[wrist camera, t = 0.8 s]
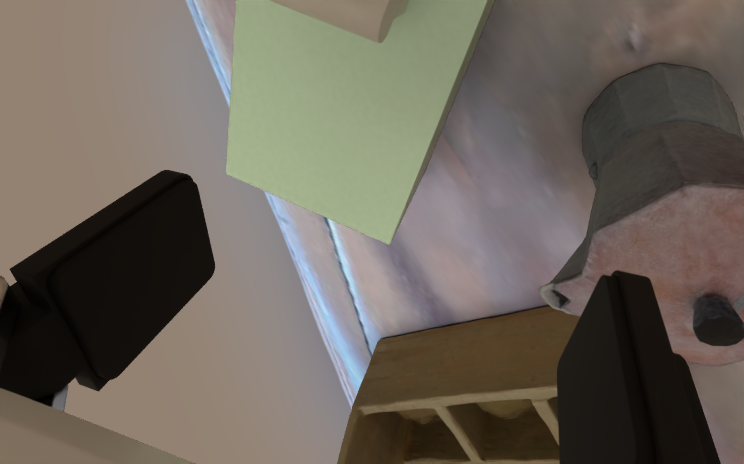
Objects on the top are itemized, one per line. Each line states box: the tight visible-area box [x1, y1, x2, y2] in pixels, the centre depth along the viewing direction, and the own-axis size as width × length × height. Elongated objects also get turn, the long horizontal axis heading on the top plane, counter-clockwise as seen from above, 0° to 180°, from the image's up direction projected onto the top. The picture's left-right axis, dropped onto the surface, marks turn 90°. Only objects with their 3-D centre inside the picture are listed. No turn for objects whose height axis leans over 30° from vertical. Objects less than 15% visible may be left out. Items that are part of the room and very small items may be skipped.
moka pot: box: [538, 63, 744, 366], centre depth 22 cm, size 10×15×20 cm, turn 122°
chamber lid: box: [226, 0, 488, 245], centre depth 23 cm, size 17×13×6 cm
